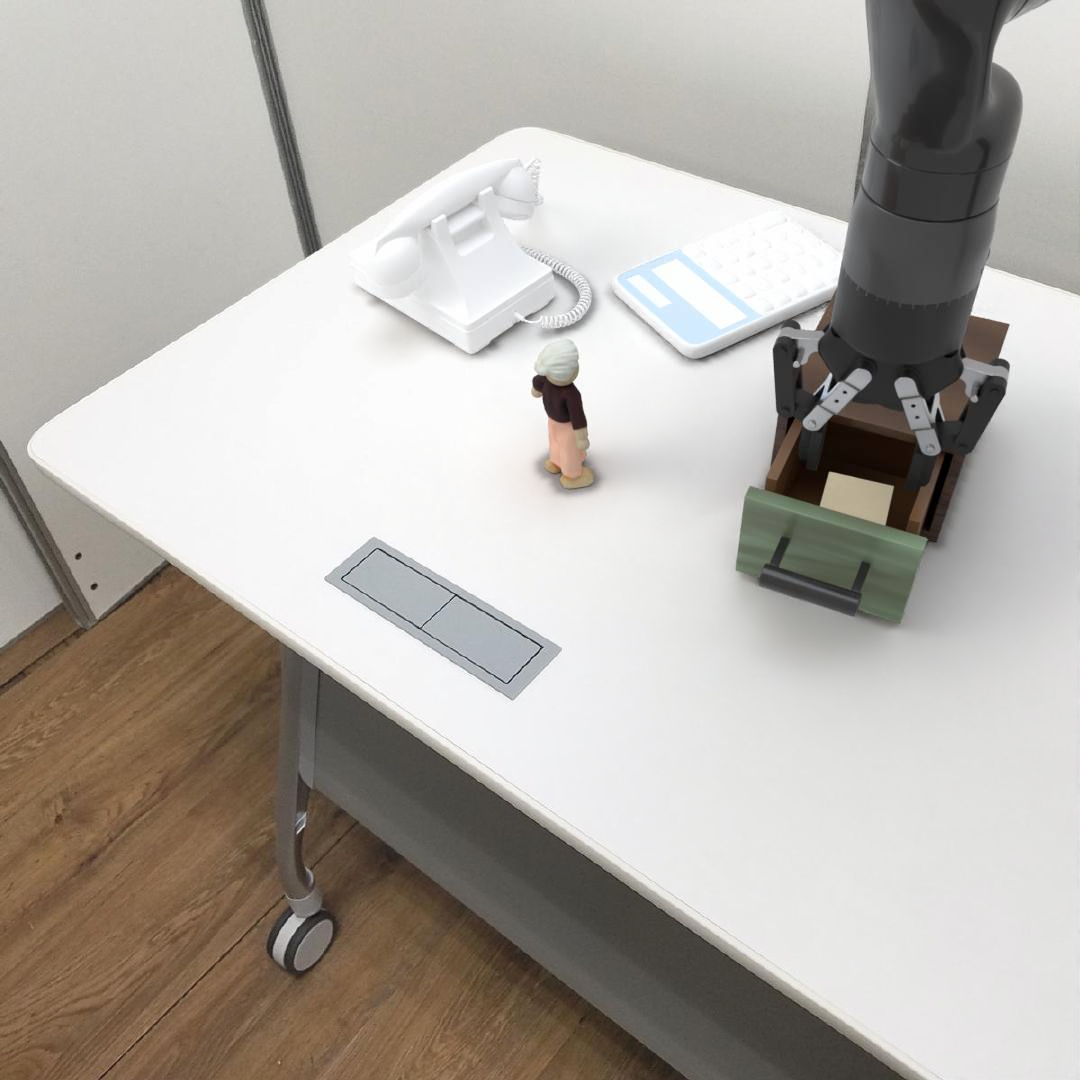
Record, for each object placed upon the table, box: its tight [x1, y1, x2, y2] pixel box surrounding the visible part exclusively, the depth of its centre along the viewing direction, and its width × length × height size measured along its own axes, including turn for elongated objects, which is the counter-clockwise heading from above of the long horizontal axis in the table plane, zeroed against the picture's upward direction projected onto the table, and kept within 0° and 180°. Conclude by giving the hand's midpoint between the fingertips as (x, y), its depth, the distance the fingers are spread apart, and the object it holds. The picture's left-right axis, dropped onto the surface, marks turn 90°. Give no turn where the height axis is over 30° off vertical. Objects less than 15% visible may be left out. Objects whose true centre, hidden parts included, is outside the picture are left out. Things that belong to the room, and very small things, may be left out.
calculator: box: [611, 210, 843, 360], centre depth 102 cm, size 13×20×2 cm, turn 121°
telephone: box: [348, 157, 593, 355], centre depth 100 cm, size 25×21×12 cm
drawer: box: [735, 418, 947, 624], centre depth 77 cm, size 18×12×8 cm
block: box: [820, 472, 894, 525], centre depth 77 cm, size 4×4×4 cm
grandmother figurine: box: [530, 337, 595, 490], centre depth 84 cm, size 8×4×13 cm, turn 42°
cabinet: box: [769, 288, 1010, 543], centre depth 84 cm, size 15×13×10 cm
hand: (862, 471), depth 73 cm, fingers open, 6 cm apart
